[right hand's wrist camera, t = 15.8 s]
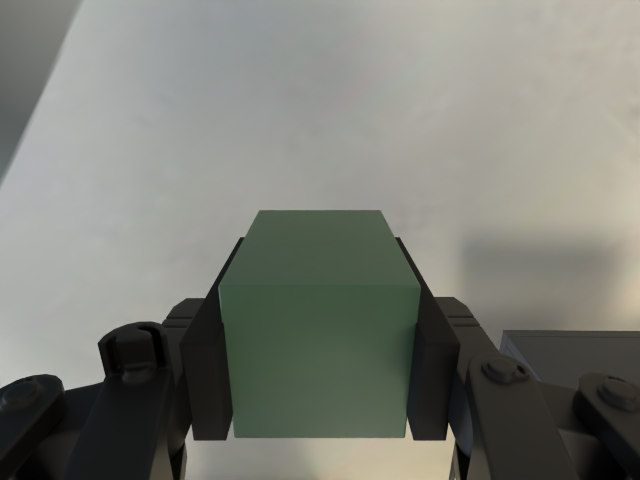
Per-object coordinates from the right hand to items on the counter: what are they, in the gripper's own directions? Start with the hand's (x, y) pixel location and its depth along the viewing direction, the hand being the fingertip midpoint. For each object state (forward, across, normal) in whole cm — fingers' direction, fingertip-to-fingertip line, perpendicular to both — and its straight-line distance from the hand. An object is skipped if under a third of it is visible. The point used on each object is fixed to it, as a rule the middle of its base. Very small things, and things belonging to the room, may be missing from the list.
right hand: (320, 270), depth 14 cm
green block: (0, 0, 0) cm, 0 cm away
